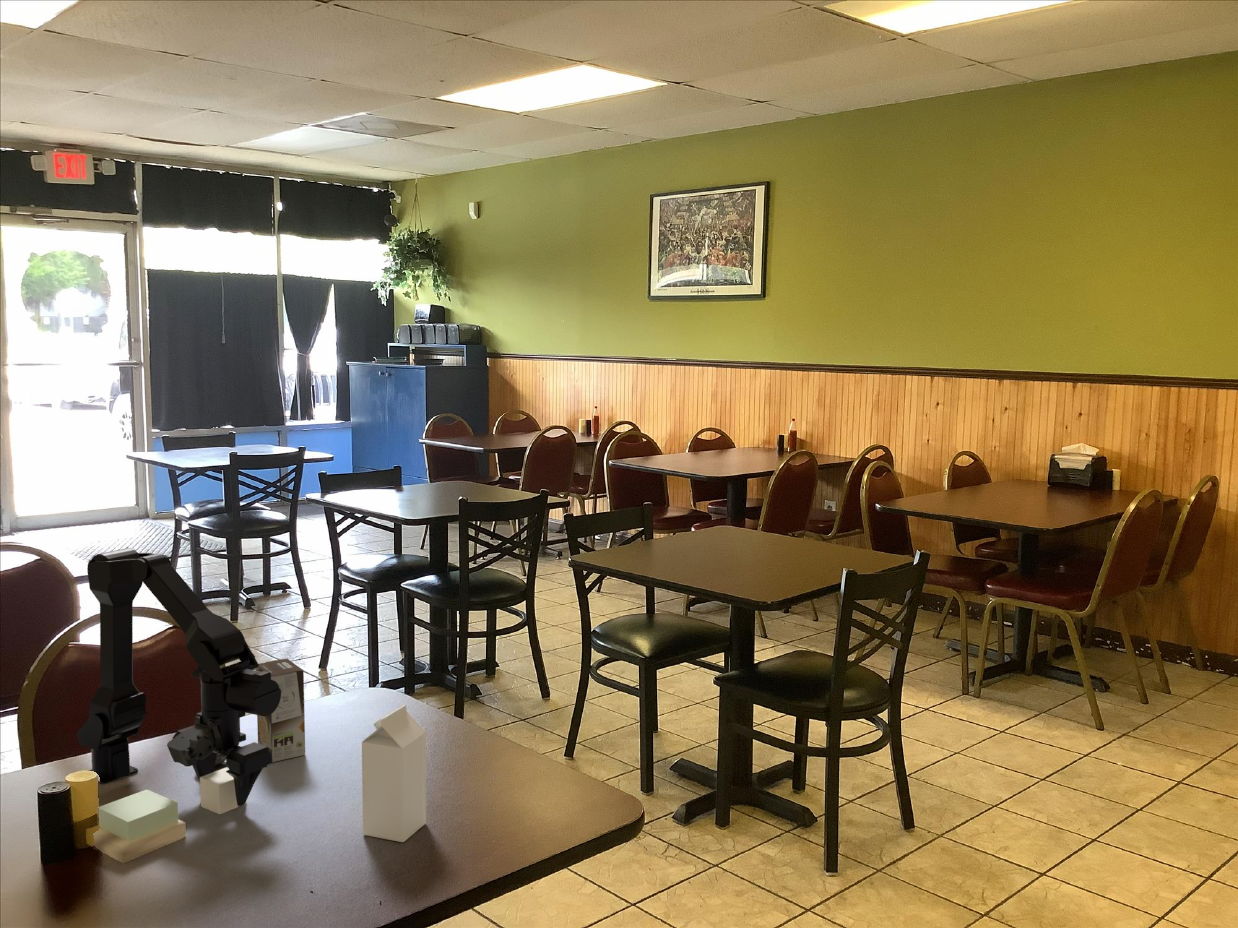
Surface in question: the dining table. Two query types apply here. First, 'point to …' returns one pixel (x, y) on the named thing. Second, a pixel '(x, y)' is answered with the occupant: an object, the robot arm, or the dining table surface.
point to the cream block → (218, 791)
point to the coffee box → (284, 712)
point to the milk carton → (394, 777)
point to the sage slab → (138, 815)
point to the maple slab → (138, 842)
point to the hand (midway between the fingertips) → (223, 798)
